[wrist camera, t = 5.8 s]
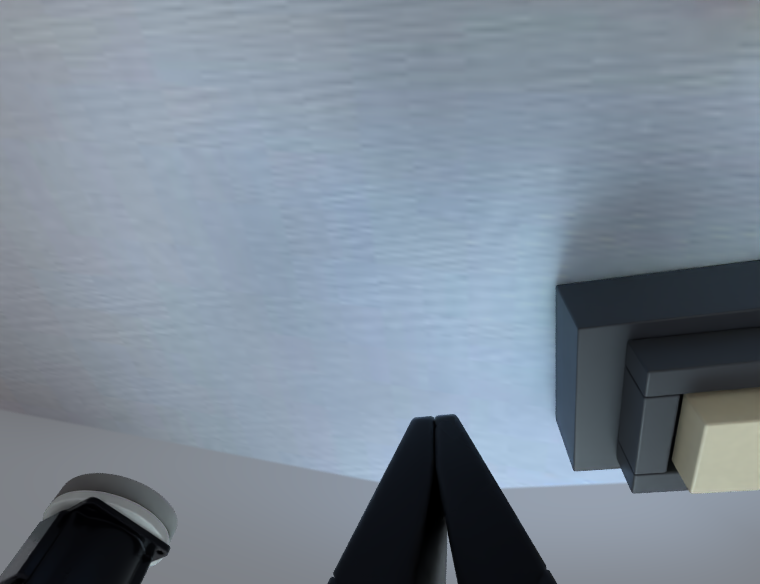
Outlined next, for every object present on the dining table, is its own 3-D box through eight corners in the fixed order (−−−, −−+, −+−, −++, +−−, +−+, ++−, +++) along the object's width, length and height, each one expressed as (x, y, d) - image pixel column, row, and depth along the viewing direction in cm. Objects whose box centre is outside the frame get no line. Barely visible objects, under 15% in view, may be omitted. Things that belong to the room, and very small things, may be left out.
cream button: (796, 381, 16) (830, 415, 15) (771, 453, 18) (800, 488, 16) (682, 391, 17) (705, 425, 15) (670, 460, 18) (690, 495, 17)
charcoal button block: (819, 251, 18) (942, 325, 14) (772, 400, 22) (857, 493, 18) (555, 284, 20) (593, 360, 16) (555, 419, 24) (586, 508, 20)
